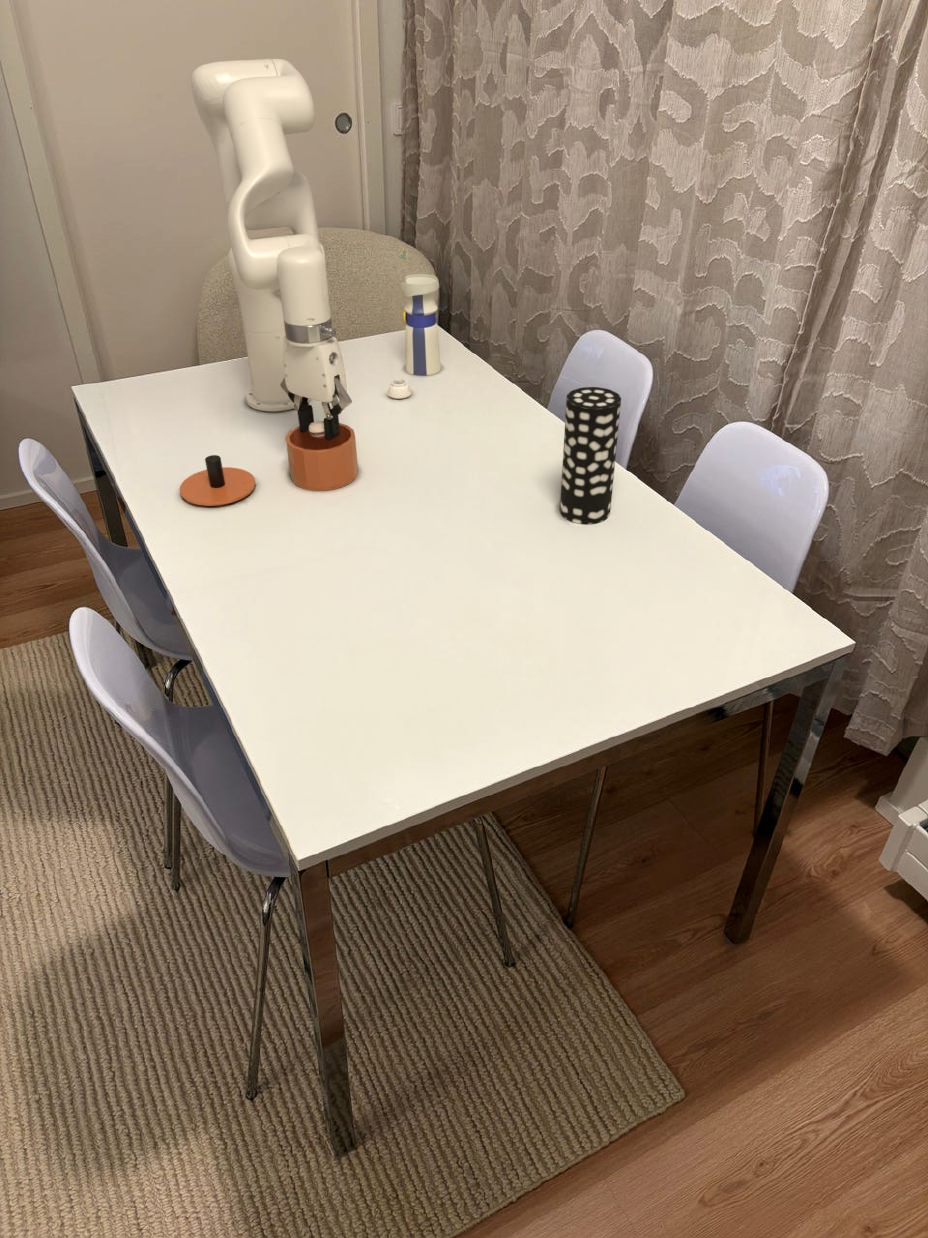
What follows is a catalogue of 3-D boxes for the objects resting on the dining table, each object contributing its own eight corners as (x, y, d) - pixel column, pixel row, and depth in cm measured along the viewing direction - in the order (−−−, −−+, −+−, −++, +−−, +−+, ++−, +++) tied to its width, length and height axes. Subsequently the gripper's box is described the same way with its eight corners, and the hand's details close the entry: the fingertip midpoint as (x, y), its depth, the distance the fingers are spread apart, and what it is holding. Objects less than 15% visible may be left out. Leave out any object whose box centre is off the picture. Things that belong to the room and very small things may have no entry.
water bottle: (399, 375, 202) (393, 255, 187) (408, 360, 209) (402, 243, 194) (437, 377, 201) (433, 257, 186) (444, 362, 208) (441, 245, 193)
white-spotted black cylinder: (616, 504, 157) (628, 392, 145) (601, 528, 151) (611, 412, 139) (569, 494, 160) (577, 383, 148) (552, 517, 154) (558, 403, 142)
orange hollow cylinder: (320, 453, 173) (316, 415, 168) (371, 469, 168) (368, 431, 163) (277, 479, 165) (271, 440, 160) (329, 497, 160) (324, 457, 155)
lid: (218, 466, 169) (212, 435, 166) (271, 484, 164) (266, 452, 160) (164, 496, 161) (157, 464, 157) (219, 516, 155) (212, 483, 151)
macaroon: (317, 443, 159) (316, 429, 158) (301, 433, 162) (299, 420, 161) (338, 435, 161) (337, 422, 160) (322, 426, 164) (320, 412, 163)
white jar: (386, 400, 192) (411, 400, 192) (385, 386, 190) (410, 386, 190) (388, 390, 196) (412, 390, 196) (387, 376, 194) (411, 376, 194)
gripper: (364, 332, 149) (372, 436, 160) (284, 313, 157) (296, 414, 168) (334, 347, 144) (345, 453, 155) (253, 326, 152) (268, 430, 163)
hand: (319, 432), depth 161 cm, fingers closed on macaroon, 5 cm apart
